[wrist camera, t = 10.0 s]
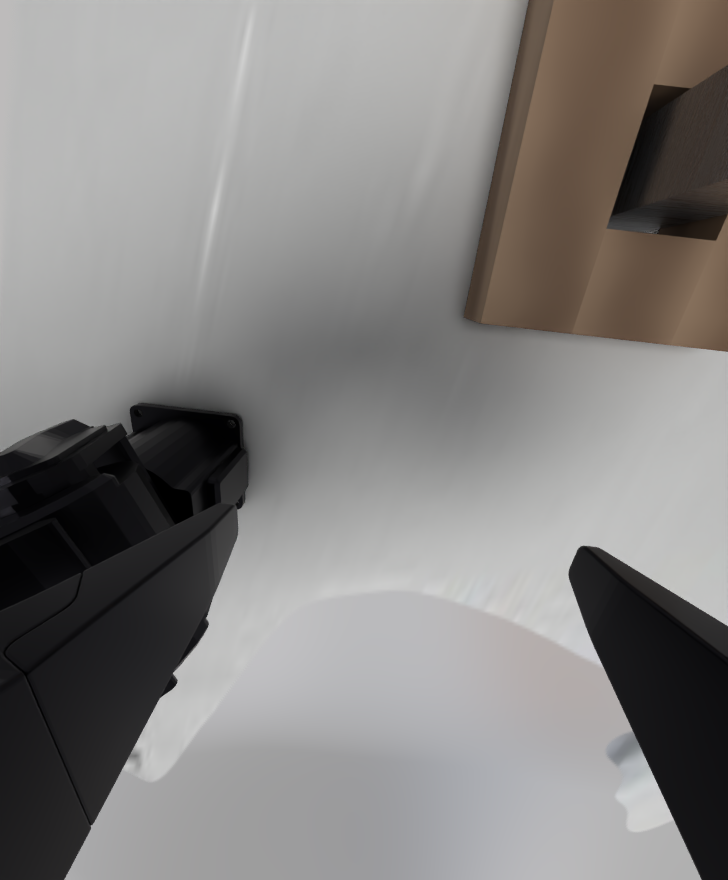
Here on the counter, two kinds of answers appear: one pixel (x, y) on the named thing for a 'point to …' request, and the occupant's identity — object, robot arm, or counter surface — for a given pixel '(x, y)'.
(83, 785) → the robot arm
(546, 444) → the counter surface
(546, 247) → the socket block
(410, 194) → the counter surface
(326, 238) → the counter surface
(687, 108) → the long pin
